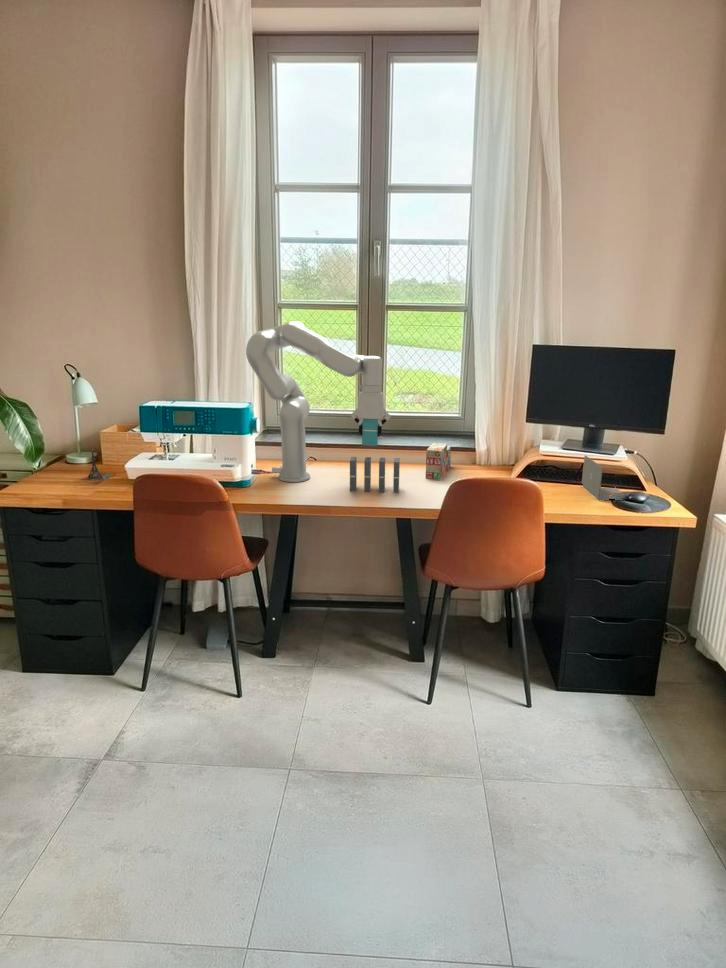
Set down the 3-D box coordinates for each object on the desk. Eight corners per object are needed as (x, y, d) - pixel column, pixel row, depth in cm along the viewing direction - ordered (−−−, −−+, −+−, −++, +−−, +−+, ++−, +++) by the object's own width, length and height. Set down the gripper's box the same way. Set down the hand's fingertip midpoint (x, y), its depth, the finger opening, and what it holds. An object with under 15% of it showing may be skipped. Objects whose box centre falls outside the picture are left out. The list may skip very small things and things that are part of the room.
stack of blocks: (436, 465, 288) (437, 437, 284) (450, 466, 286) (451, 438, 282) (425, 478, 268) (426, 449, 265) (440, 480, 267) (441, 450, 263)
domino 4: (393, 492, 250) (393, 462, 247) (393, 488, 256) (394, 458, 252) (398, 492, 250) (399, 462, 246) (399, 488, 256) (399, 458, 252)
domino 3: (378, 492, 251) (379, 461, 247) (379, 487, 256) (380, 457, 253) (384, 492, 250) (384, 461, 247) (384, 487, 256) (385, 457, 253)
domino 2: (364, 491, 251) (364, 461, 247) (365, 487, 257) (365, 457, 253) (369, 492, 251) (369, 461, 247) (370, 487, 257) (370, 457, 253)
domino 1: (349, 491, 251) (349, 460, 248) (351, 486, 257) (351, 456, 254) (355, 491, 251) (355, 461, 248) (356, 486, 257) (356, 456, 253)
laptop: (631, 501, 243) (636, 467, 239) (597, 501, 243) (601, 467, 239) (612, 486, 260) (616, 454, 256) (580, 487, 260) (584, 454, 256)
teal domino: (377, 446, 258) (378, 415, 254) (361, 445, 258) (362, 415, 255) (377, 444, 260) (378, 414, 256) (362, 444, 260) (363, 414, 256)
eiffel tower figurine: (97, 485, 258) (93, 452, 254) (73, 484, 260) (69, 451, 256) (118, 475, 272) (114, 443, 268) (95, 473, 274) (92, 442, 270)
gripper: (347, 389, 249) (347, 436, 255) (393, 391, 248) (391, 438, 253) (349, 386, 256) (349, 432, 262) (394, 388, 255) (392, 433, 261)
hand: (370, 434), depth 258 cm, fingers closed on teal domino, 6 cm apart
